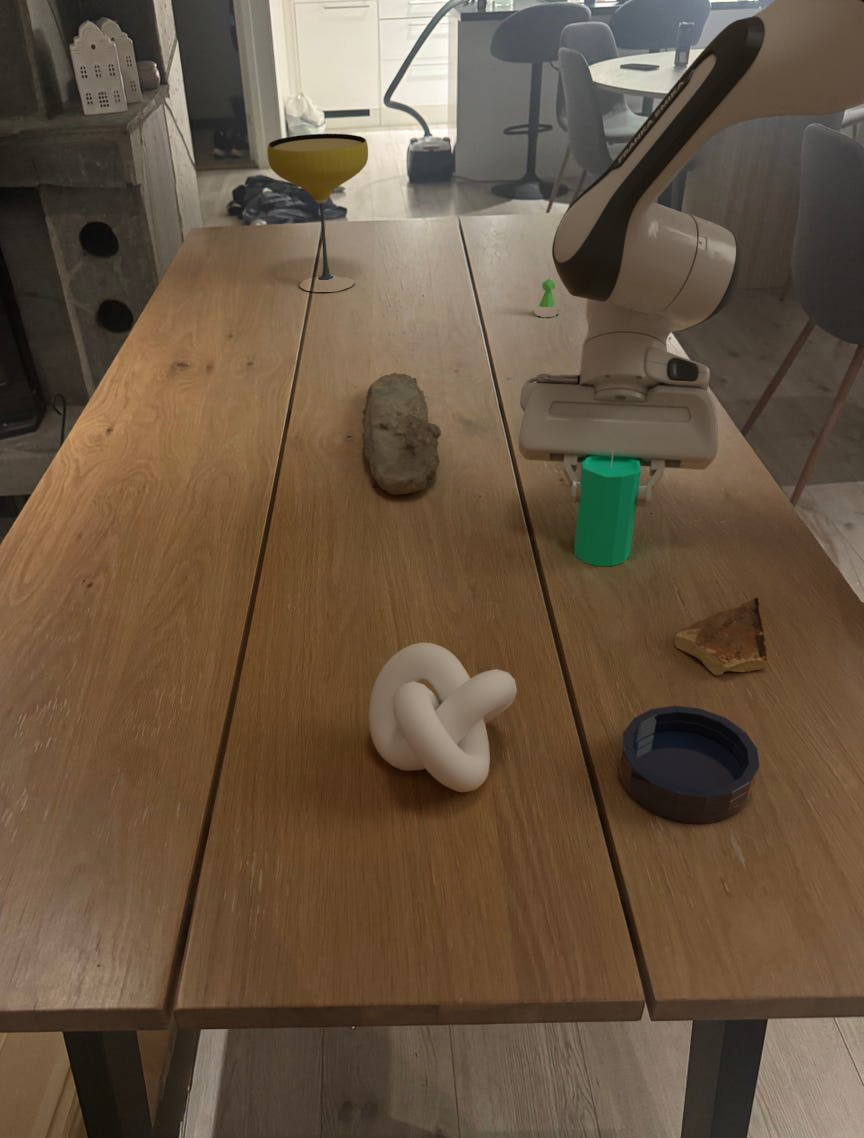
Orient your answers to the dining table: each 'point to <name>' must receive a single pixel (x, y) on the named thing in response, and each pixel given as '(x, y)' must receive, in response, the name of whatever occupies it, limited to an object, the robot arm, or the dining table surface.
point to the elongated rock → (399, 435)
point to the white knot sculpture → (437, 715)
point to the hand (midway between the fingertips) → (610, 503)
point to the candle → (606, 509)
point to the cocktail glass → (318, 167)
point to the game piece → (548, 294)
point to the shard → (727, 640)
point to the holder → (688, 764)
